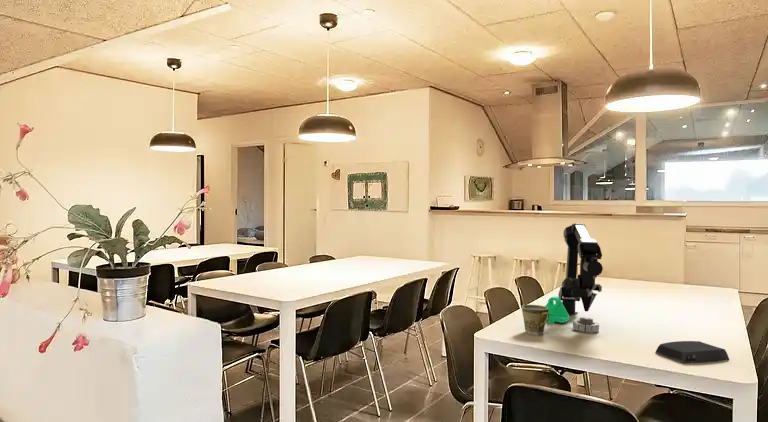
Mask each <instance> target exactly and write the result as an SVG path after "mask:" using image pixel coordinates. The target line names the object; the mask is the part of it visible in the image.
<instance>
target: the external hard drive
mask: <svg viewBox="0 0 768 422" xmlns="http://www.w3.org/2000/svg"><path fill="white" fill-rule="evenodd" d="M654 354H656V355H659V356H662V357H665V358H667V359H670V360H673V361H675V362H678V363H680V364H683V365H684V364H703V363H714V362H715V363H717V362H723V361H724V360H725V361H730V357H729V354H728V353H727V351H726V349H724V348H721V347H718V346H715V345H713V344H712V345H711V344H709V343H705V342H702V341H700V340H699V341H698V340H697V341H696V340H680V341H679V340H678V341H669V342H663V343H660V344H659V345H658V346H657V348H656V350H655V353H654Z"/></svg>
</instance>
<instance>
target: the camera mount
mask: <svg viewBox="0 0 768 422" xmlns="http://www.w3.org/2000/svg"><path fill="white" fill-rule="evenodd" d="M547 301H548V302H547V303H546V304H545V305H544V306H545V307H548V308H549V310H548V313H549V316H550V318H549V320H548V321H546V322H545V323H550V324H556V323H565V322H568V321H570V315H569V314H568V313H567V311H566V309H565V307H564V305H563V303H562V300H560V298H559V297H558V296H556V295H554V296H552V297H550V298H548V300H547ZM547 319H548V315H547V318H546V320H547Z"/></svg>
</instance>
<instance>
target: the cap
mask: <svg viewBox="0 0 768 422" xmlns="http://www.w3.org/2000/svg"><path fill="white" fill-rule="evenodd" d="M579 320H580V322H579V323H580V324H586V325H593V321H594V319H593V318H590V317H579Z"/></svg>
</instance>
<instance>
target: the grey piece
mask: <svg viewBox="0 0 768 422" xmlns="http://www.w3.org/2000/svg"><path fill="white" fill-rule="evenodd" d="M579 322H580V319H576V320H573V321H572V330H574V331H577V332H580V333H585V334H596V333H599V330H600V324H599V322H598V321H597V322H596V321H594V320H593V325H586V324H580V323H579Z"/></svg>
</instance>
